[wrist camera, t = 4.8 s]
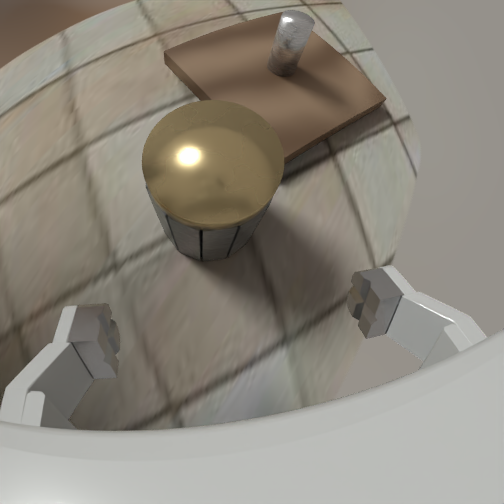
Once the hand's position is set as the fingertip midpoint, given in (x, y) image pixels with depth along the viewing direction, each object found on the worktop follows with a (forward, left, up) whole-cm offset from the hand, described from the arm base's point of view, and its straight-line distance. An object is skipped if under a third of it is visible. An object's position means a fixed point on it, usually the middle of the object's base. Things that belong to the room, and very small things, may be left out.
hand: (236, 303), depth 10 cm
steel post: (-12, +15, -8) cm, 21 cm away
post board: (-12, +15, -9) cm, 22 cm away
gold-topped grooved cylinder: (-5, +3, -9) cm, 11 cm away
